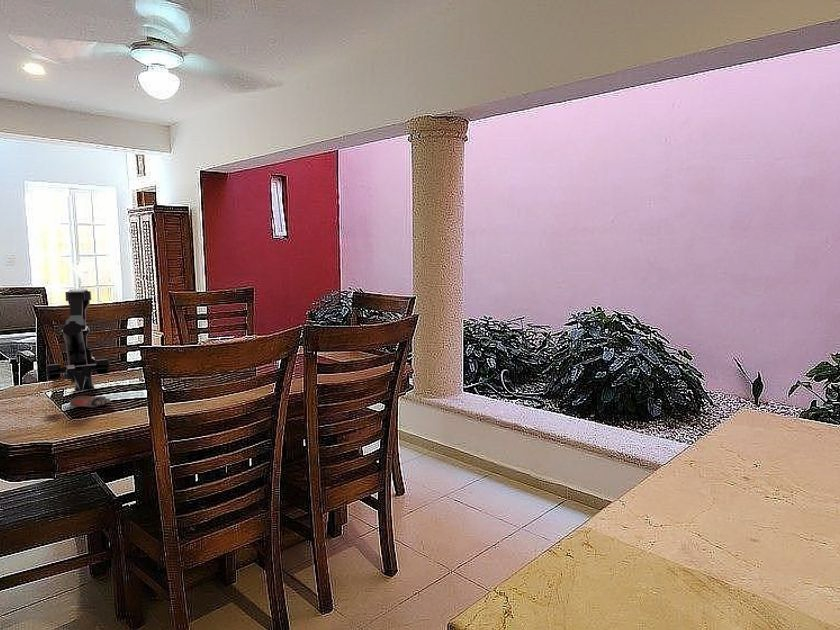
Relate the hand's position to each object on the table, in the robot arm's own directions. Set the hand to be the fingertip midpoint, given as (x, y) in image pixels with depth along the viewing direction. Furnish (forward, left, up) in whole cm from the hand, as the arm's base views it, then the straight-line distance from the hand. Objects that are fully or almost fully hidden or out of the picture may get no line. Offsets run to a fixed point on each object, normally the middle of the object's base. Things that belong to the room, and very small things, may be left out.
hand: (81, 389), depth 195 cm
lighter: (-5, -1, -5) cm, 7 cm away
